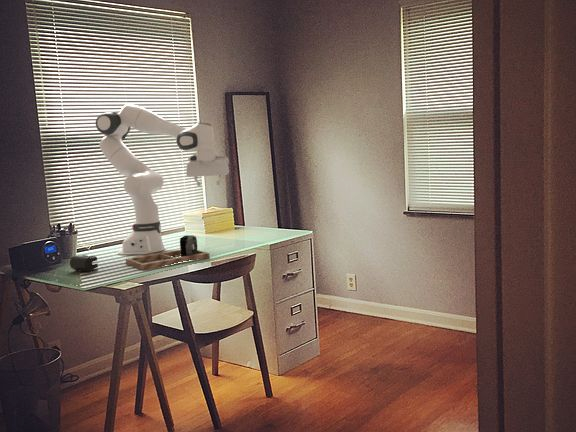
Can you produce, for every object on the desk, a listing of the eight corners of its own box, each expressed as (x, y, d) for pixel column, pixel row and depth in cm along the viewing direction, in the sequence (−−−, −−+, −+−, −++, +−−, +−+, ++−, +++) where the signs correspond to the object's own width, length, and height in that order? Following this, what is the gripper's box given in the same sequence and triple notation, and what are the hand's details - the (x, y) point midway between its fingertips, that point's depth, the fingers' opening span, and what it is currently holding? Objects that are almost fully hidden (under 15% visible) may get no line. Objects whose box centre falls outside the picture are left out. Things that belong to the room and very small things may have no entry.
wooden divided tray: (142, 270, 260) (142, 264, 260) (126, 263, 277) (125, 258, 277) (209, 258, 278) (209, 253, 278) (190, 252, 294) (189, 247, 294)
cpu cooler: (192, 259, 276) (190, 237, 275) (180, 260, 277) (178, 237, 276) (198, 255, 287) (197, 233, 285) (186, 255, 287) (185, 234, 286)
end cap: (70, 272, 266) (68, 256, 265) (83, 268, 272) (82, 253, 271) (85, 274, 261) (84, 258, 260) (99, 270, 267) (97, 255, 266)
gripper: (228, 154, 298) (230, 183, 300) (186, 157, 298) (188, 186, 300) (227, 155, 292) (229, 184, 294) (184, 158, 292) (186, 187, 294)
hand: (208, 185), depth 297 cm, fingers open, 8 cm apart
